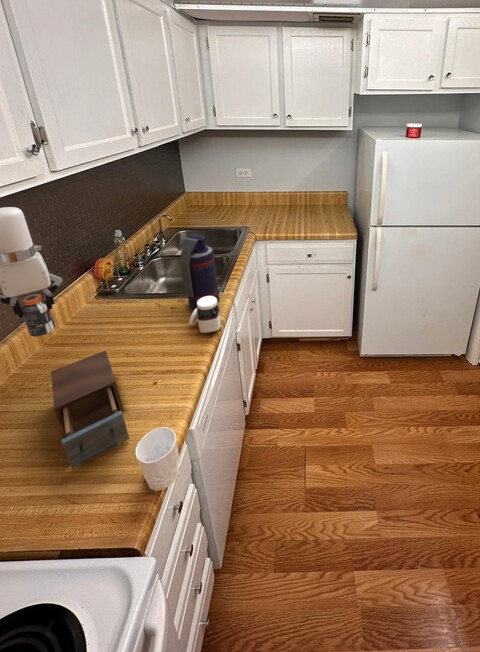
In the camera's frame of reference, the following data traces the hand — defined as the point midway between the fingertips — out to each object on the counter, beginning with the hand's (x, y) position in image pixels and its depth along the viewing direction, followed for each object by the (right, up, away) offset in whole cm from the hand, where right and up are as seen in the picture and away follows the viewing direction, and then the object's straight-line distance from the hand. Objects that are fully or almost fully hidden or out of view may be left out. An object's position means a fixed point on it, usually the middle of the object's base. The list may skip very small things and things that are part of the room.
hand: (36, 310), depth 94 cm
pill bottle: (0, -7, +3) cm, 7 cm away
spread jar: (+39, -13, +28) cm, 50 cm away
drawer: (+27, -28, -13) cm, 41 cm away
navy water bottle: (+34, -8, +41) cm, 54 cm away
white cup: (+46, -32, -20) cm, 59 cm away
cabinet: (+18, -25, -3) cm, 31 cm away
